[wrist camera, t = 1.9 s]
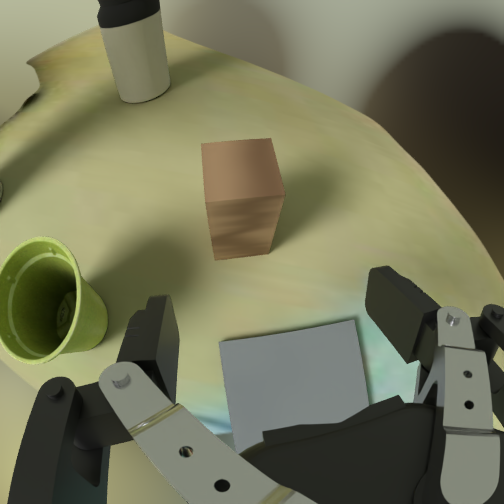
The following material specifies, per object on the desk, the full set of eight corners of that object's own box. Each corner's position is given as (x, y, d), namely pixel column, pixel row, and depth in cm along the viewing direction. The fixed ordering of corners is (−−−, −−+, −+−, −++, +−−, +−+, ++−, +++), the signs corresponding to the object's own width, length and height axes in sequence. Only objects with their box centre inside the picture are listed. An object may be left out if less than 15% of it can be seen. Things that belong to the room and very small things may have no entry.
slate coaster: (240, 471, 19) (240, 474, 19) (219, 342, 24) (218, 342, 23) (369, 440, 21) (373, 442, 20) (350, 320, 25) (354, 319, 24)
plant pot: (133, 279, 25) (94, 241, 17) (118, 379, 22) (68, 381, 14) (57, 267, 25) (9, 232, 17) (40, 355, 22) (-17, 343, 14)
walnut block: (214, 260, 27) (205, 202, 17) (210, 213, 29) (201, 143, 19) (268, 254, 27) (285, 194, 18) (259, 208, 29) (270, 138, 20)
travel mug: (156, 106, 35) (134, -10, 18) (110, 103, 35) (79, 2, 18) (179, 76, 38) (168, -26, 21) (135, 74, 38) (116, -18, 21)
